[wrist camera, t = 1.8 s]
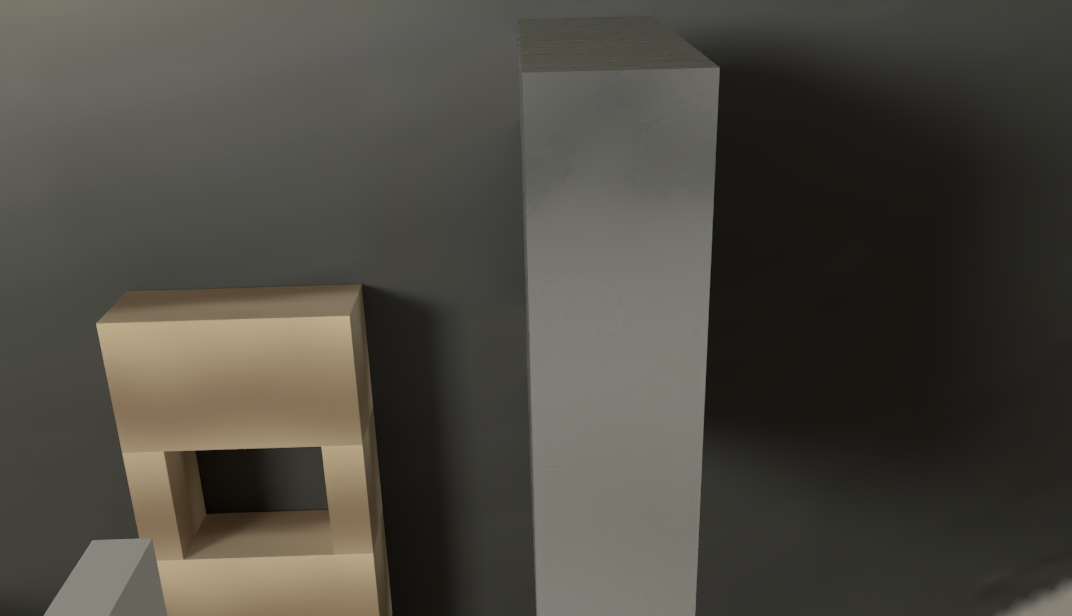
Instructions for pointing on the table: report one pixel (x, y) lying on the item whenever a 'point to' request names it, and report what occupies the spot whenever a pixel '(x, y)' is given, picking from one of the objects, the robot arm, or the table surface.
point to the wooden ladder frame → (250, 444)
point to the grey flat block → (616, 308)
